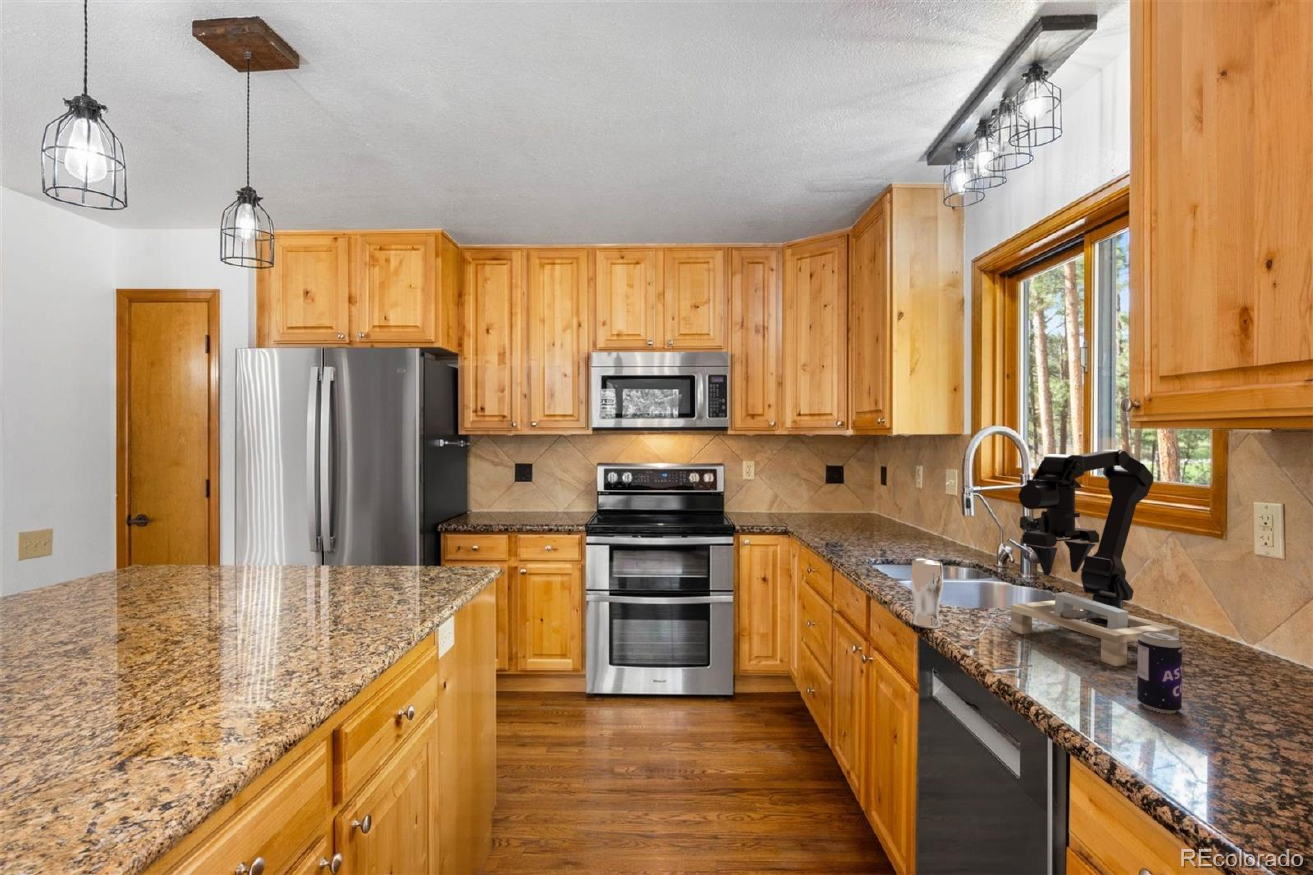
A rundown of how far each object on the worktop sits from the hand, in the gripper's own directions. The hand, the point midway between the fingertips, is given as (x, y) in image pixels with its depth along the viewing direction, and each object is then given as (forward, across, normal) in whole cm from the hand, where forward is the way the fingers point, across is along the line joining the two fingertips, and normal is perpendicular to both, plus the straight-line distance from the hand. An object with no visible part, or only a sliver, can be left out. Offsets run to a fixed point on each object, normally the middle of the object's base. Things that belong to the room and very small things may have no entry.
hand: (1060, 573), depth 148 cm
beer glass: (+12, +29, -12) cm, 34 cm away
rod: (+7, +5, +10) cm, 13 cm away
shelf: (+13, +5, +10) cm, 17 cm away
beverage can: (+12, +28, +37) cm, 48 cm away
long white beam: (+9, +5, +10) cm, 14 cm away
